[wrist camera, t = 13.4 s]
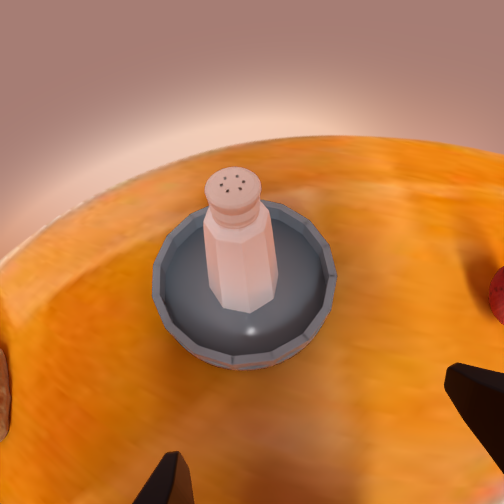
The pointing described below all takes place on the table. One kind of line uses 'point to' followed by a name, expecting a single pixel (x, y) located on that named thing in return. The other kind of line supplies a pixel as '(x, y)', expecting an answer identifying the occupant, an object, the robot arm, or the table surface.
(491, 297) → the onion
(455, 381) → the robot arm
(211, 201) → the pepper shaker
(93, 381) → the table surface
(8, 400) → the pastry
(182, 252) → the dish
